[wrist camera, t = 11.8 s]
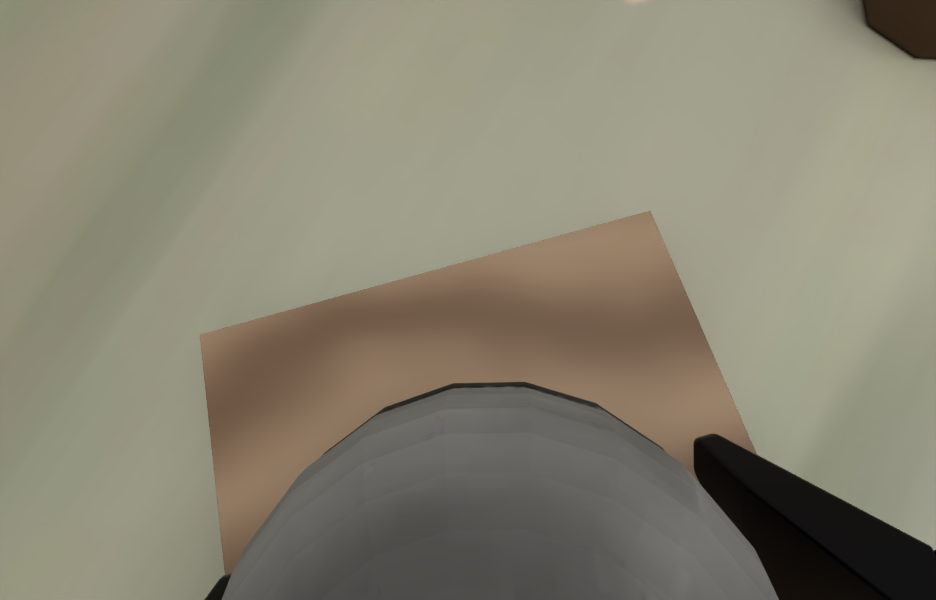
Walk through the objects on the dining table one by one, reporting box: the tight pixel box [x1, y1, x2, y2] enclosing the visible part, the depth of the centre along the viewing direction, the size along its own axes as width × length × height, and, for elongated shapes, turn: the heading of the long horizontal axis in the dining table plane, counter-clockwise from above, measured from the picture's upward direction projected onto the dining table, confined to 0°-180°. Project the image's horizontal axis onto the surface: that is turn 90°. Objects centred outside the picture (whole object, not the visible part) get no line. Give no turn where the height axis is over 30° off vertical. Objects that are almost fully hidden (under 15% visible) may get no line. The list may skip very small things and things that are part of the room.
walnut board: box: [200, 211, 757, 575], centre depth 18 cm, size 20×20×1 cm
